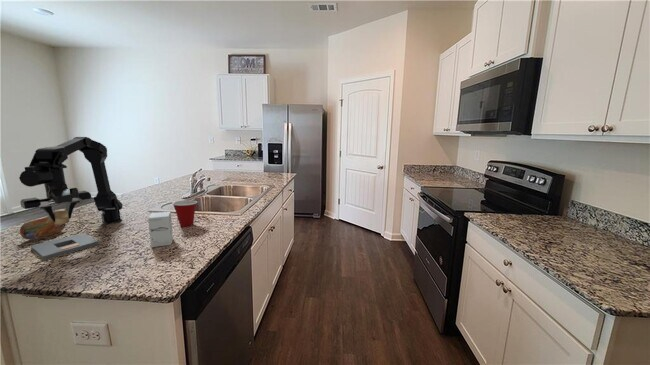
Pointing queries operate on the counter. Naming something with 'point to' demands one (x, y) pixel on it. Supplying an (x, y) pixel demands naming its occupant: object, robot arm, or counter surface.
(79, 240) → the hole plate
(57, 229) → the tin
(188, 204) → the plastic cup
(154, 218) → the supplement box
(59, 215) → the peg
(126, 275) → the counter surface
